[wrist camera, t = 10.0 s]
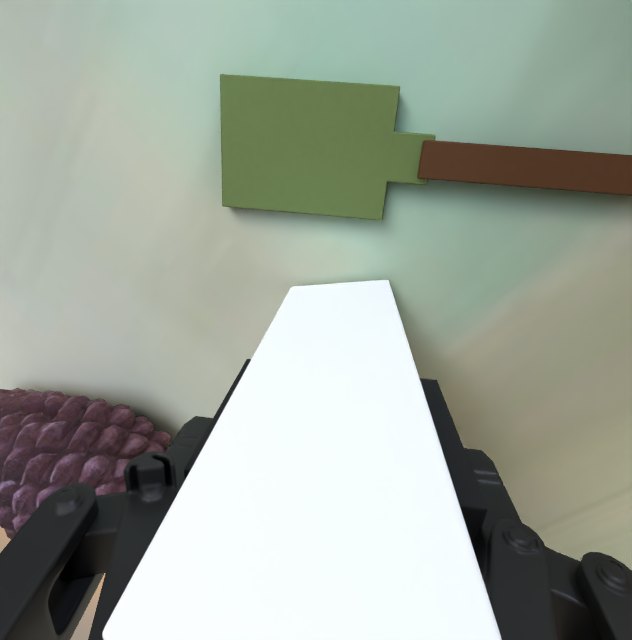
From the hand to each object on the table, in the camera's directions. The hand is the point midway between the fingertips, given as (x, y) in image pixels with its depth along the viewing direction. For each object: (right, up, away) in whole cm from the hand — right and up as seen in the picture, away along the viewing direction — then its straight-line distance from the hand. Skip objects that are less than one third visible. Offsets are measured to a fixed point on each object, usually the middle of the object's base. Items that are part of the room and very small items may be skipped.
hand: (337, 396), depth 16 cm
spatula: (+7, +12, +4) cm, 14 cm away
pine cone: (-16, -5, +13) cm, 21 cm away
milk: (+1, +3, +8) cm, 8 cm away
